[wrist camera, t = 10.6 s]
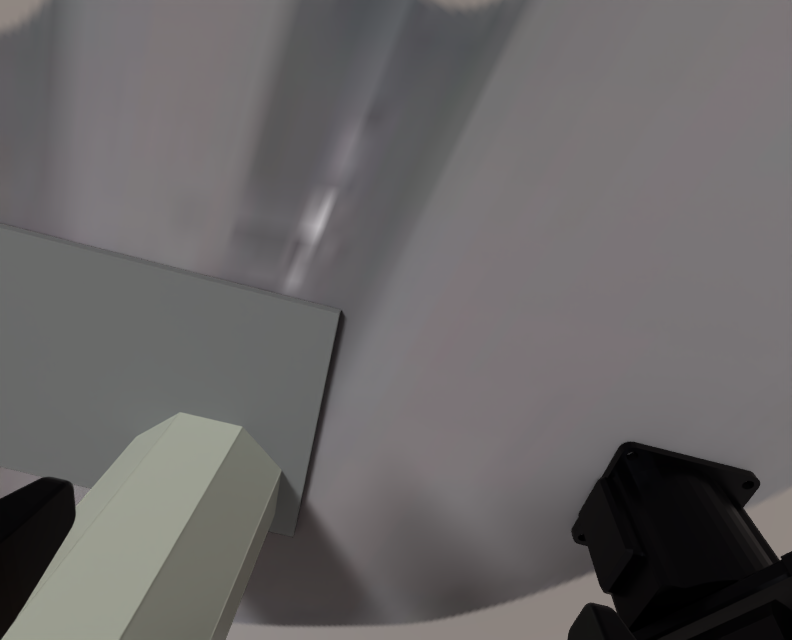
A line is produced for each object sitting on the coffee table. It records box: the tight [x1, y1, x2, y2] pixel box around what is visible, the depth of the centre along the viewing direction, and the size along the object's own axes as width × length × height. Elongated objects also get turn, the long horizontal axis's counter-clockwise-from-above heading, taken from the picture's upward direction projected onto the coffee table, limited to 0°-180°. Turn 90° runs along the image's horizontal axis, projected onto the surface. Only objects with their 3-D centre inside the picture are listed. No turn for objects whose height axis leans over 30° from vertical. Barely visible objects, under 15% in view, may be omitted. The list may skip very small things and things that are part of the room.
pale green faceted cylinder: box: [1, 412, 282, 640], centre depth 20 cm, size 7×7×12 cm
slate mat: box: [0, 223, 341, 537], centre depth 24 cm, size 17×14×1 cm
